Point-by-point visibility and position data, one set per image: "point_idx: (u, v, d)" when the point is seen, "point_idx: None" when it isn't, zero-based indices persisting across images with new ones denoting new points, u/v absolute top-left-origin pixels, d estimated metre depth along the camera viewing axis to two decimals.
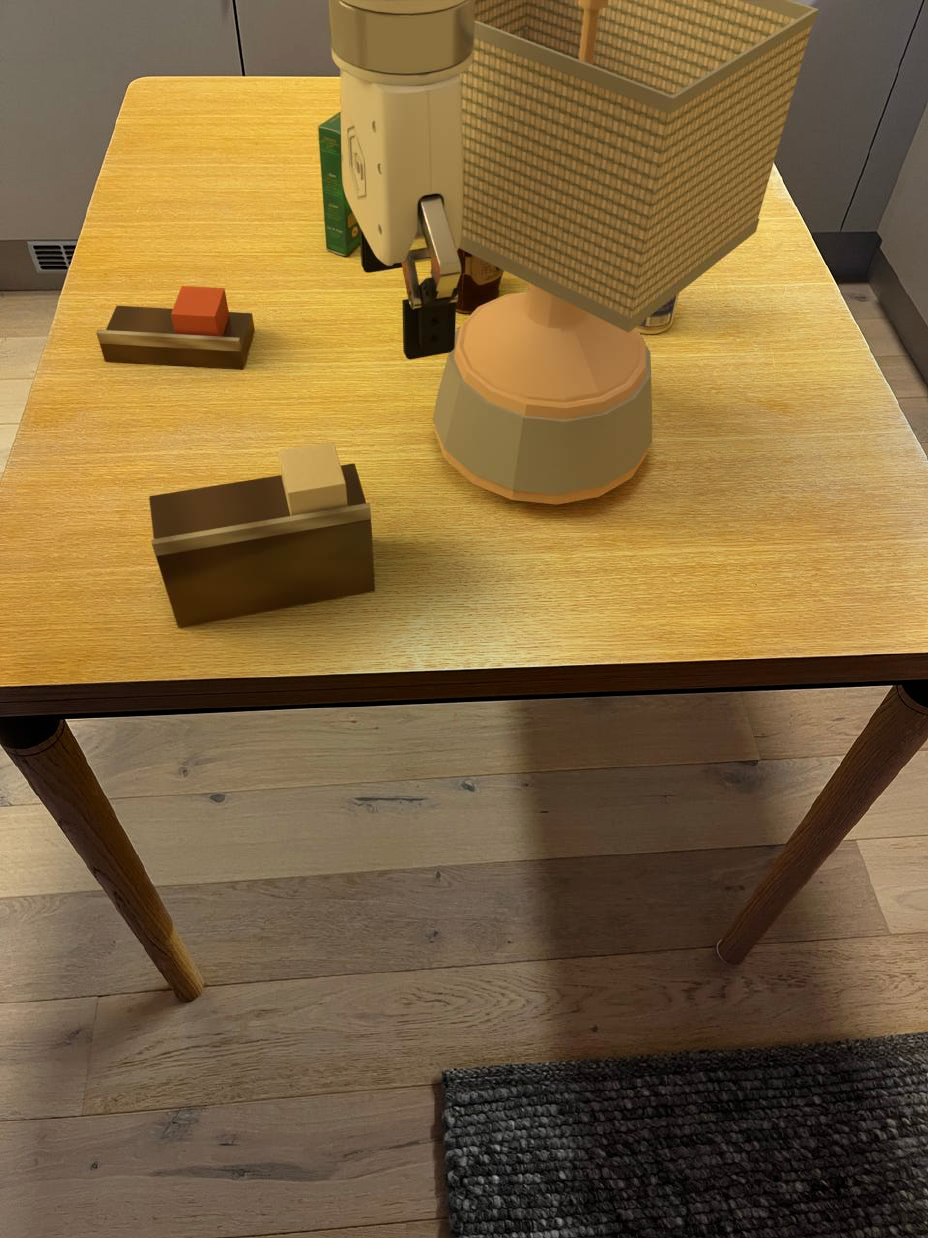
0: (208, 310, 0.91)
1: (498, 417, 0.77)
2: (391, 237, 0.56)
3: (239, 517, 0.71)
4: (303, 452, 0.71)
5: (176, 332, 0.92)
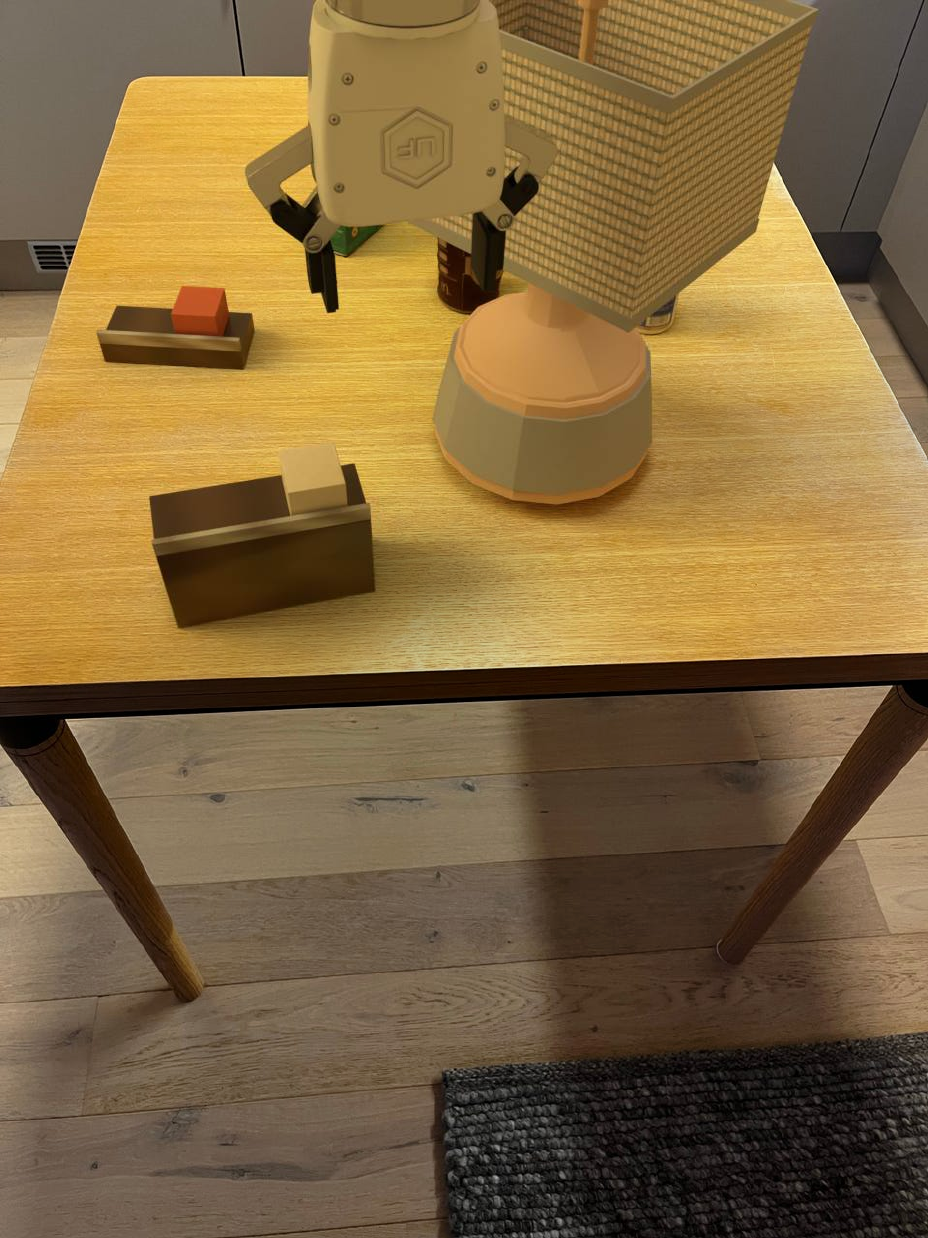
0: (208, 310, 0.91)
1: (498, 417, 0.77)
2: None
3: (239, 517, 0.71)
4: (303, 452, 0.71)
5: (176, 332, 0.92)
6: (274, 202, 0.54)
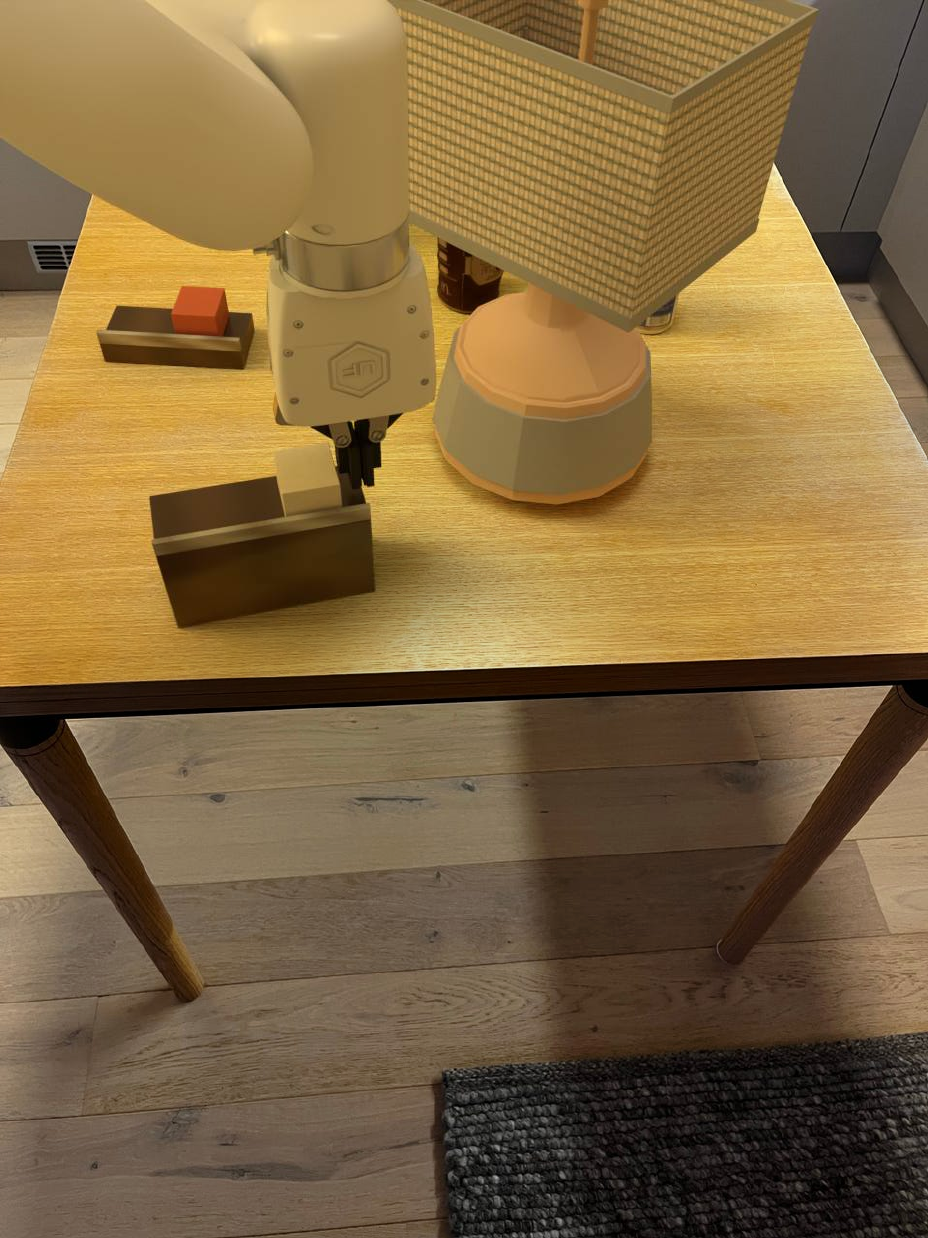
0: (208, 310, 0.91)
1: (498, 417, 0.77)
2: None
3: (239, 517, 0.71)
4: (298, 453, 0.71)
5: (176, 332, 0.92)
6: None
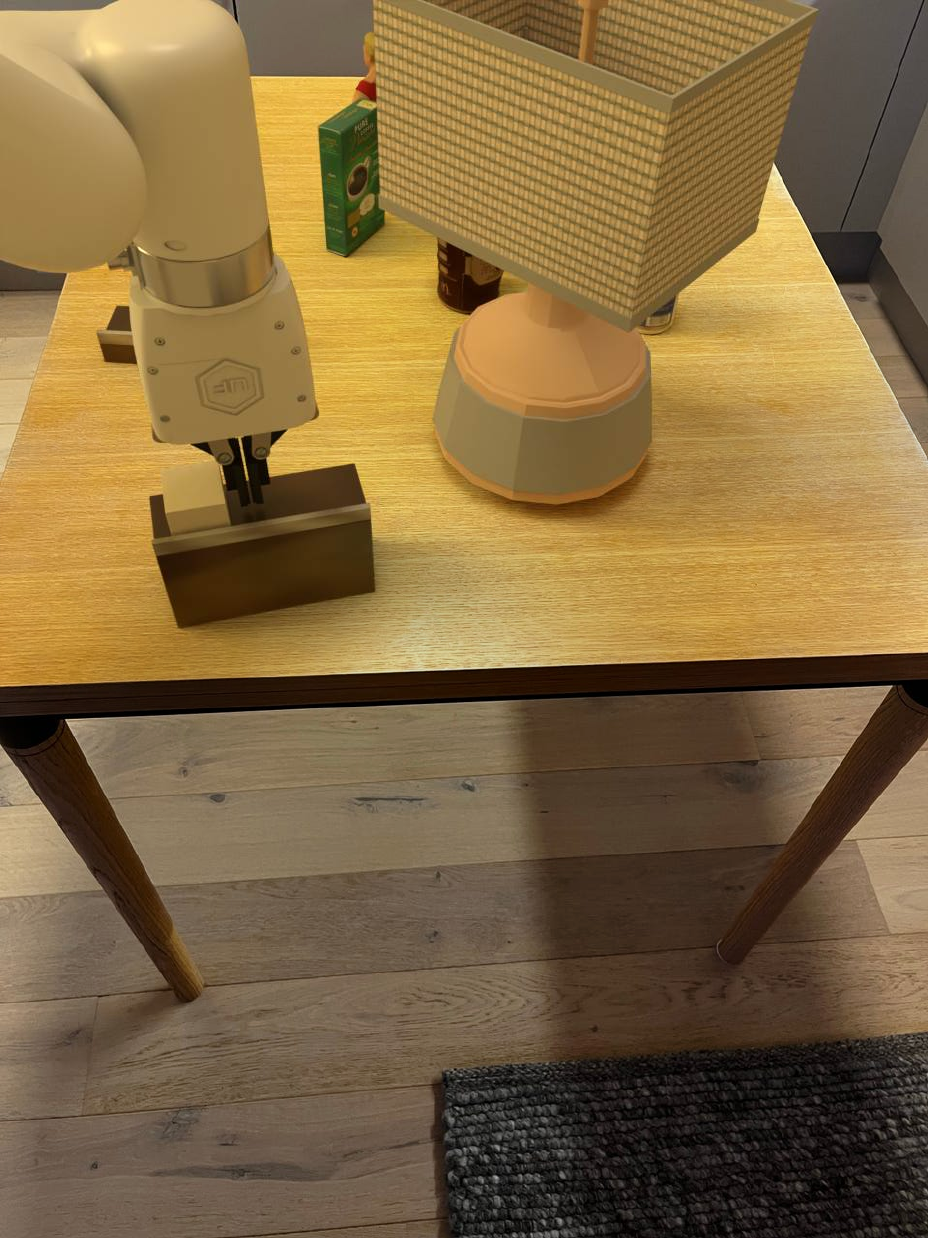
0: None
1: (498, 417, 0.77)
2: (314, 392, 0.62)
3: (239, 517, 0.71)
4: (185, 470, 0.69)
5: None
6: None
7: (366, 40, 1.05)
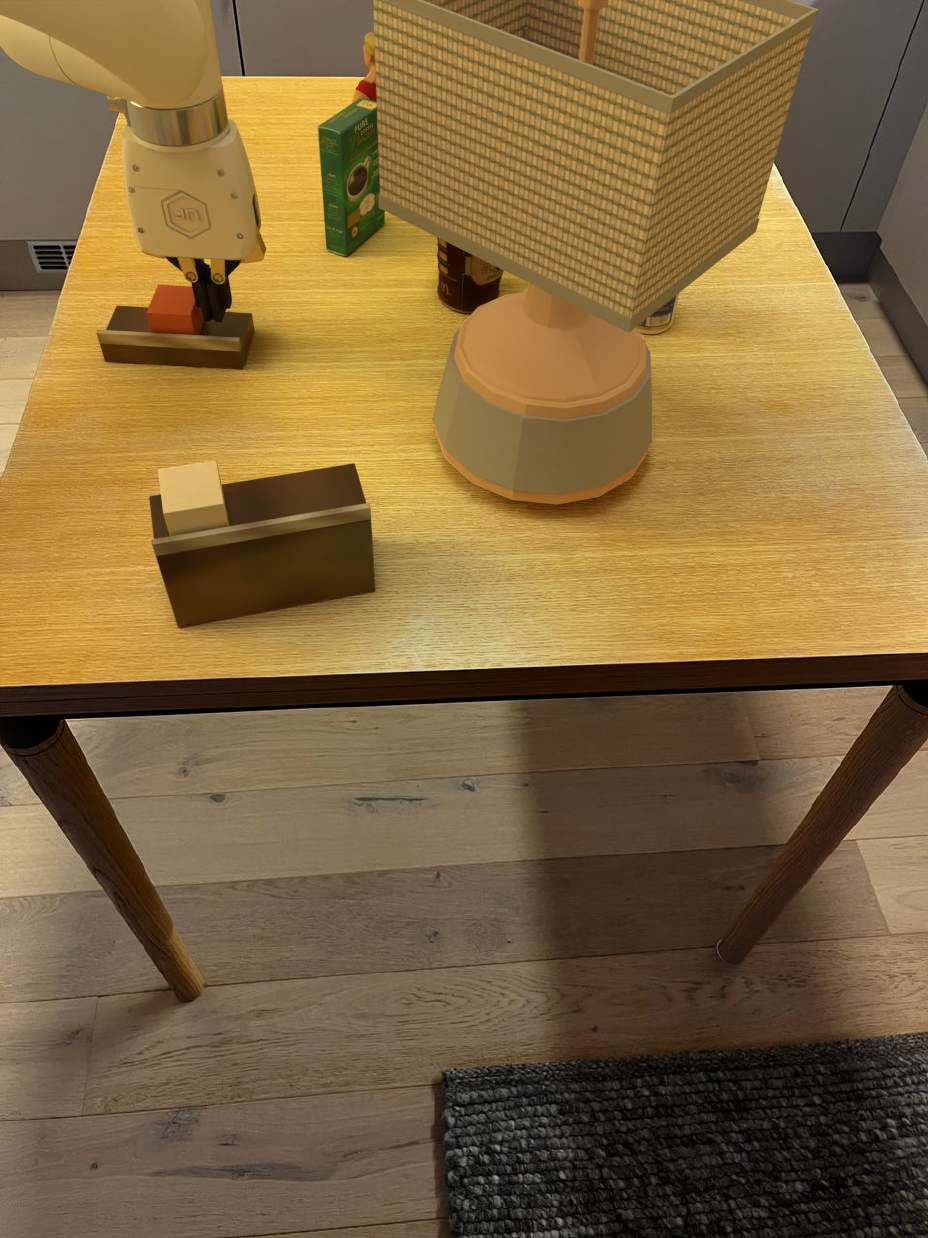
0: (183, 309, 0.91)
1: (498, 417, 0.77)
2: (251, 234, 0.83)
3: (239, 517, 0.71)
4: (183, 471, 0.69)
5: (152, 331, 0.92)
6: None
7: (366, 40, 1.05)
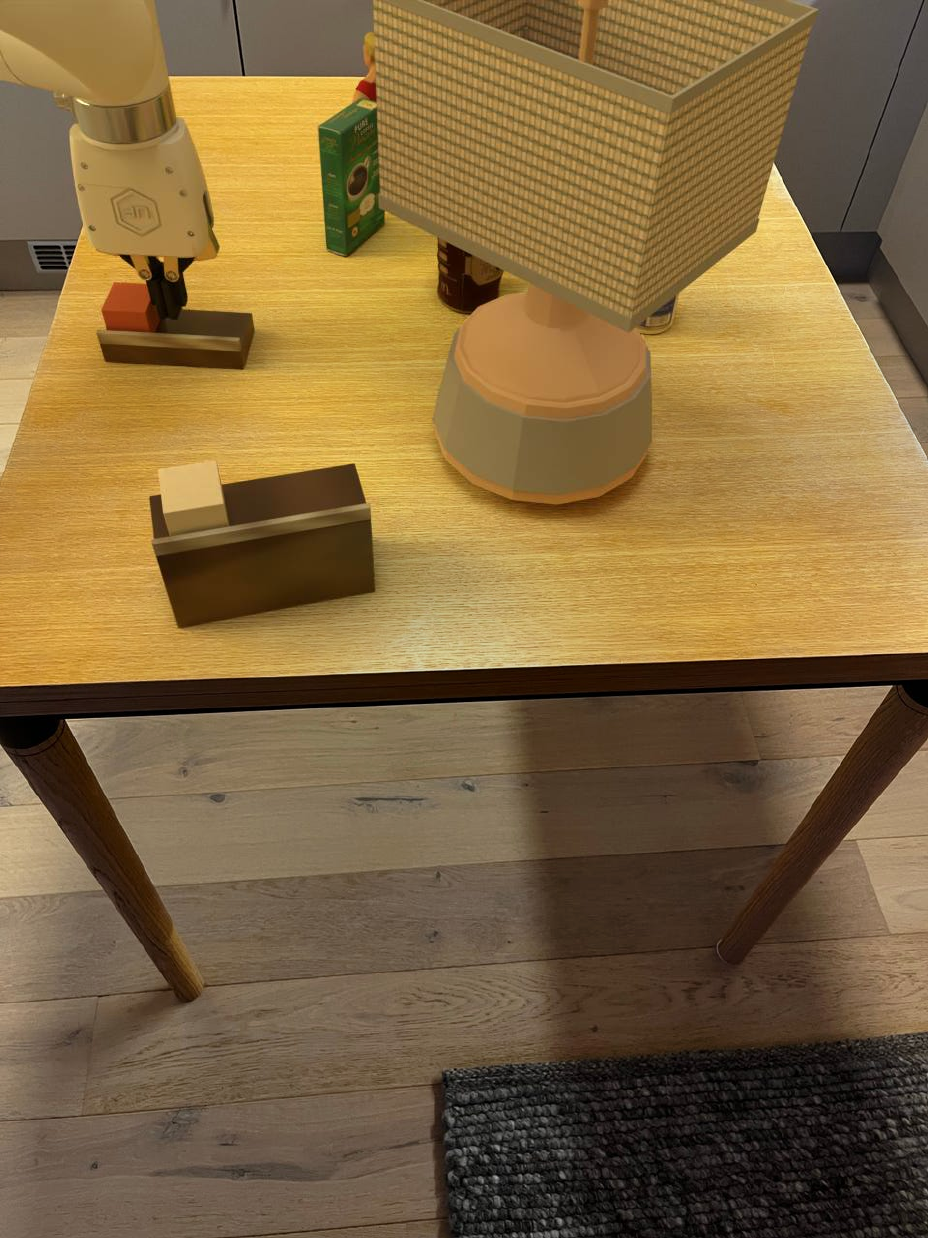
0: (138, 306, 0.91)
1: (498, 417, 0.77)
2: (202, 231, 0.84)
3: (239, 517, 0.71)
4: (183, 471, 0.69)
5: (107, 328, 0.92)
6: None
7: (366, 40, 1.05)
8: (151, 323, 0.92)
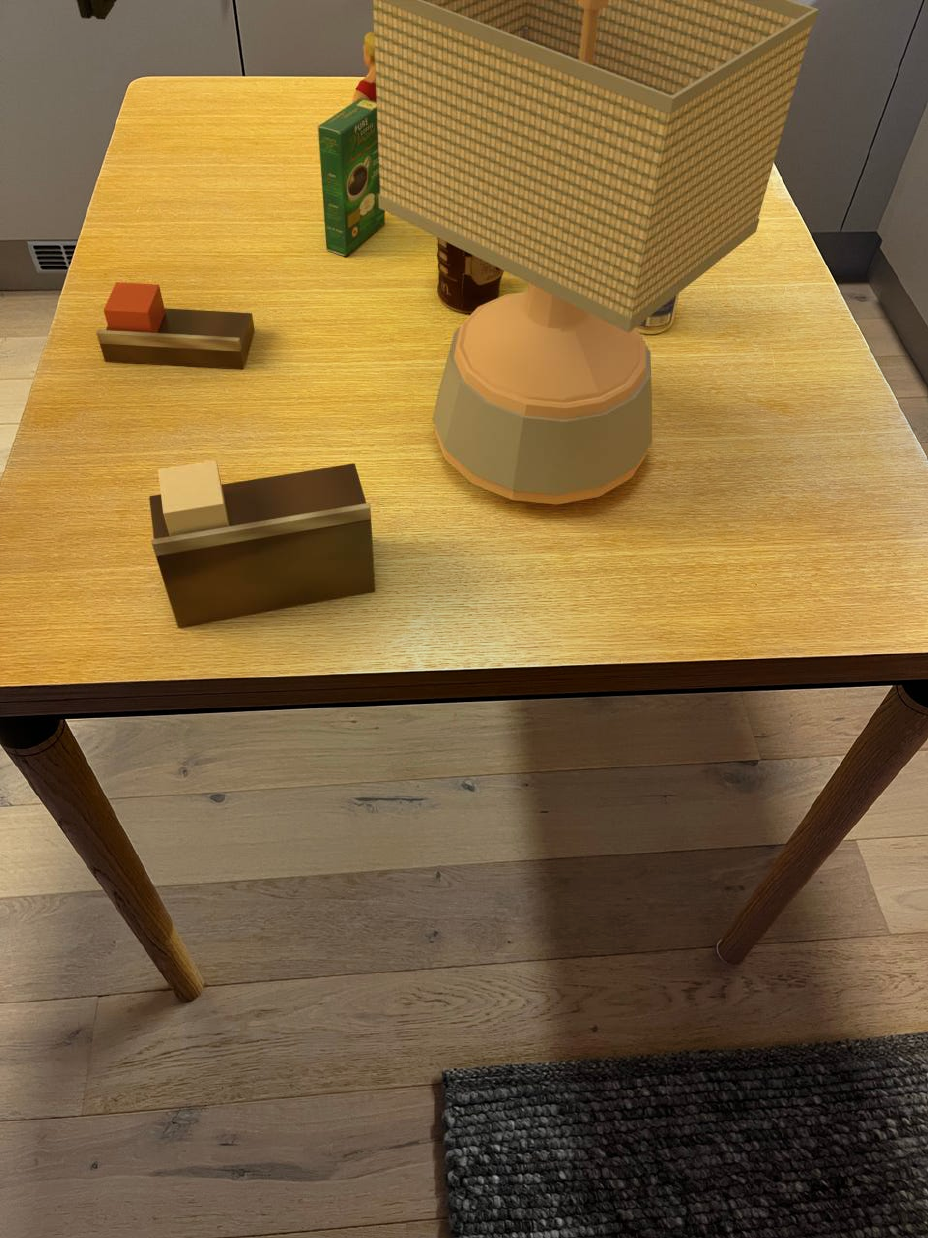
0: (141, 306, 0.91)
1: (498, 417, 0.77)
2: None
3: (239, 517, 0.71)
4: (183, 471, 0.69)
5: (110, 328, 0.92)
6: None
7: (366, 40, 1.05)
8: (153, 323, 0.92)
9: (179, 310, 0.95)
